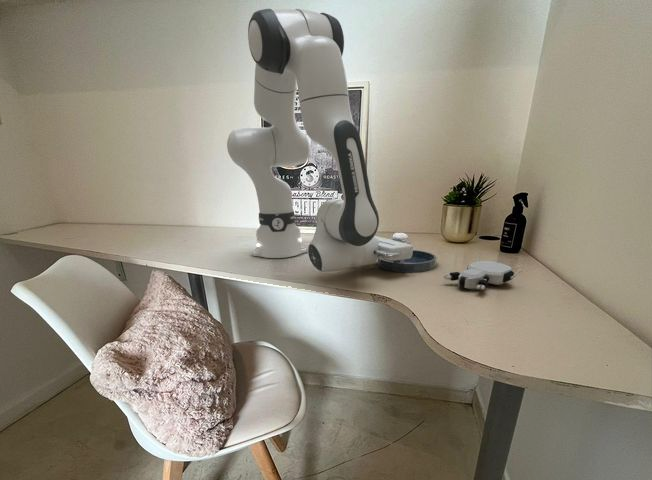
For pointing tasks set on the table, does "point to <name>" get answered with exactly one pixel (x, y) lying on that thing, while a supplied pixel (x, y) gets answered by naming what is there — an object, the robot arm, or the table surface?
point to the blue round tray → (411, 263)
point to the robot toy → (482, 275)
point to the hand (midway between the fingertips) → (402, 243)
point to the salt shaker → (401, 238)
